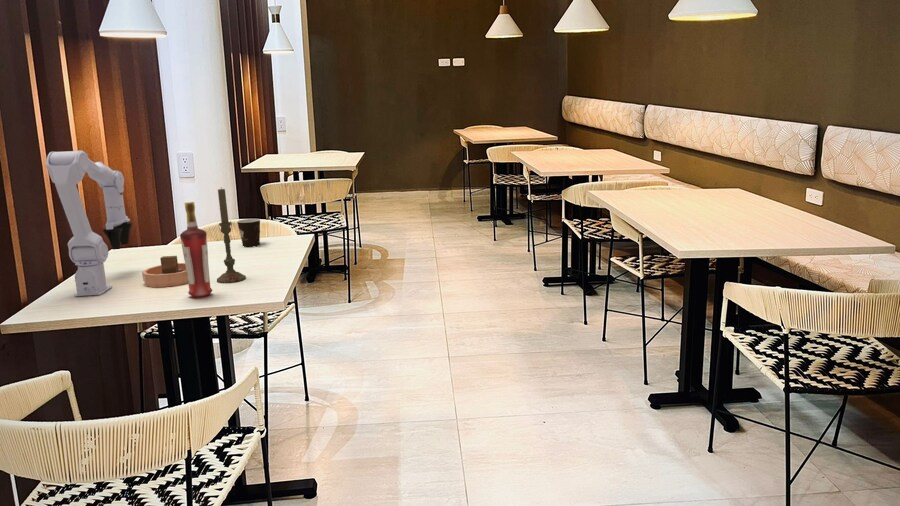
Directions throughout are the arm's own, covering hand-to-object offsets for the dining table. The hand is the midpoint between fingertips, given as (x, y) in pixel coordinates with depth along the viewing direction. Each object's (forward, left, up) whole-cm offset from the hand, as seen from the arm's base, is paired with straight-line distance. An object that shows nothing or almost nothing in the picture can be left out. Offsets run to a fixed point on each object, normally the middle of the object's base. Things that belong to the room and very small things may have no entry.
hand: (120, 246), depth 245 cm
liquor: (-33, -34, -10) cm, 48 cm away
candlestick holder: (-15, -39, -10) cm, 43 cm away
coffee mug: (+38, -35, -10) cm, 53 cm away
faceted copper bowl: (-12, -19, -10) cm, 25 cm away
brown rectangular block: (-12, -19, -9) cm, 24 cm away
